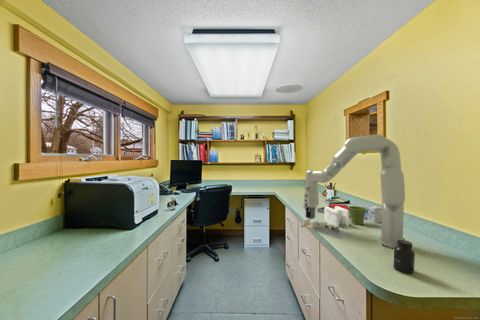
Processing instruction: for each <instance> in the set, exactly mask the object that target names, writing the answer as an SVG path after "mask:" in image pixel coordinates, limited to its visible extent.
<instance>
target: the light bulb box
mask: <svg viewBox="0 0 480 320" xmlns="http://www.w3.org/2000/svg"><path fill="white" fill-rule="evenodd" d="M362 207H364V208H367V210H366V213H365V217H364V221H368V222H370V223H373V224H377V223H381V219H382V207H380V206H375V205H371V204H363V205H362Z"/></svg>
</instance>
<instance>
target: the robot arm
mask: <svg viewBox="0 0 480 320" xmlns="http://www.w3.org/2000/svg"><path fill="white" fill-rule="evenodd" d="M371 151H372V152H373V151H377V152H378V153H379V154H380V161H381V162H380V163H381V171H380V188H381V189H380V193H381V208H382V212H381V222H380V223H381V224H380V225H381V227H380V232H381V233H380V234H381V235H380V237H379V238H377V242H379V243H381V246H383V247H387V248H389V249H390V248H391V249H394V247H395V246H398V245H397V241H398V240H406V238H405V237H404V210H405V209H404V208H405V206H404V205H405V200H406V191H405V189H406V187H405V176H404V172H403V169H402V162H401V154H400V150H399V147H398V146H397V144H396V143H395V142H393V140H391V139H389V138H386V137H385V136H384V135H382V134H376V133H375V134H368V135H360V136H354V137H349V138H348V139H346V141H345V142H344V145H343V146H342V148H341V149H339V150H338V152H337V153H335V155H334V156H333V157H332V160H331V162H330V163H329V164H328V166H327V167H325V169H324V170H319V171H317V170H312V169H311V170H306V171H305V185H304V188H305V189H304V194H303V206H302V208H303V209H304V211H305V218H306V217H309V218H310V207H314V208H315V211H317V207H318V206H319V201H320V200H319V192H318V183H321V184H325V183H327V182H330V181H332V180H333V178H334V177H336V176H337V175H338V174H339V172H340V171H342V170H343V168H345V166H347V165H348V163H350V162H351V160H353V159H354V157H356V156H357V155H358V154H359V153H362V152H371ZM308 207H309V208H308ZM309 218H308V219H309ZM412 248H413V243H412Z"/></svg>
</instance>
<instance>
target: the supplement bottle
mask: <svg viewBox="0 0 480 320" xmlns="http://www.w3.org/2000/svg"><path fill="white" fill-rule="evenodd" d="M412 244H413V243H412V242H411V241H409V240H406V239H405V240H398V241H397V245H398V246H395V247H394V248H393V262H392V263H393V264H392V266H393V268H394V270H395V271H397V272H399V273H402V274H404V275H413V274H414V273H415V264H416V263H415V259H416V252H415V251H414V249H413V247H412Z"/></svg>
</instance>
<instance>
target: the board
mask: <svg viewBox="0 0 480 320" xmlns="http://www.w3.org/2000/svg"><path fill="white" fill-rule="evenodd" d="M300 227H301V228H304V227H305V228H307V229H311V230H313V231H316V232H319V233H322V234H324V235H328V236H331V237H333V238H336V239H338V240H341V239H343V238H346V237H349V236H352V235H353V233H351V232H347V231H344V230H341V229H340V226H339V227H338V226H334V225H333V224H328V222H326V221H319V220H317V221H312V222H311V219H309V218H305V219H302V225H300Z"/></svg>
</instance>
